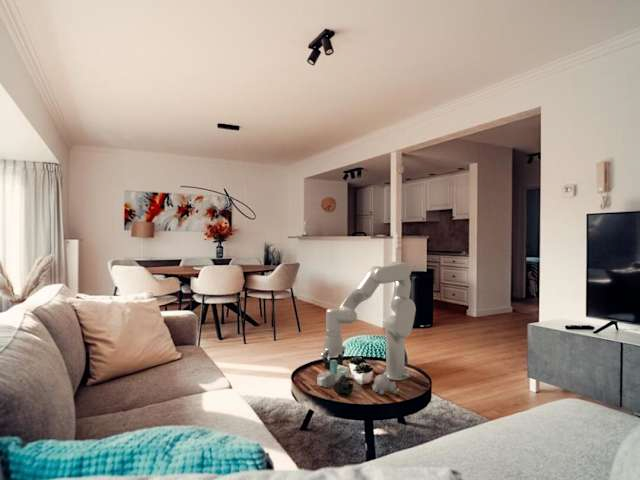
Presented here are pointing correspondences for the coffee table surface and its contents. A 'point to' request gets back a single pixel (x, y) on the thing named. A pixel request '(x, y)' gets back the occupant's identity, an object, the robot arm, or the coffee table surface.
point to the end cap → (343, 386)
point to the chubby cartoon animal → (384, 385)
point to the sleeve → (327, 378)
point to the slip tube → (332, 369)
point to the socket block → (343, 371)
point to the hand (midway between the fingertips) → (333, 366)
